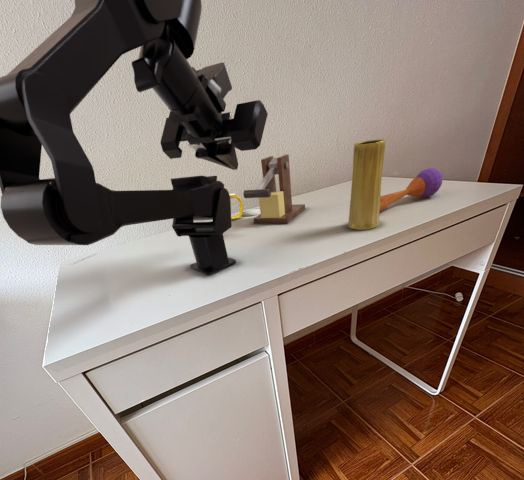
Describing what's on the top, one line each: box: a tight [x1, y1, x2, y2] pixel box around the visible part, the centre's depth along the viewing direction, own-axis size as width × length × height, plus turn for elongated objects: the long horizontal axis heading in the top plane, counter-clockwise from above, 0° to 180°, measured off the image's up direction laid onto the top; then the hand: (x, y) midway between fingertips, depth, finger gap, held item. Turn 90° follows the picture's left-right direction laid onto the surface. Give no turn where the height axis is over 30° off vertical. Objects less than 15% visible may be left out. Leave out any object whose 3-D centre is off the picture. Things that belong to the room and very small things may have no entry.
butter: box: [258, 190, 285, 218], centre depth 69 cm, size 3×5×5 cm, turn 63°
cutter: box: [253, 154, 306, 225], centre depth 70 cm, size 12×9×13 cm
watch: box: [229, 193, 245, 221], centre depth 77 cm, size 6×3×6 cm, turn 125°
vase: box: [347, 138, 386, 231], centre depth 56 cm, size 6×6×14 cm
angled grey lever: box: [243, 157, 278, 199], centre depth 65 cm, size 13×6×2 cm, turn 154°
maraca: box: [379, 167, 444, 212], centre depth 67 cm, size 6×6×20 cm
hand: (236, 167), depth 55 cm, fingers closed
